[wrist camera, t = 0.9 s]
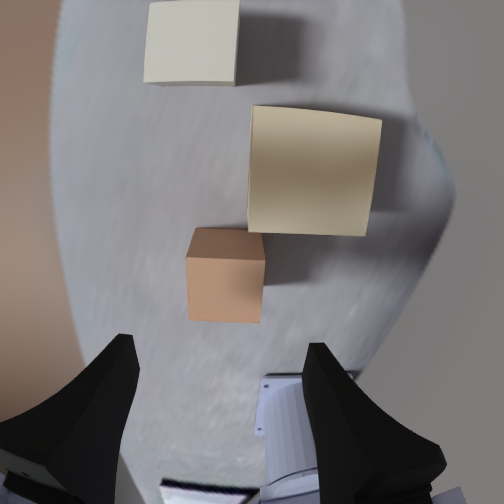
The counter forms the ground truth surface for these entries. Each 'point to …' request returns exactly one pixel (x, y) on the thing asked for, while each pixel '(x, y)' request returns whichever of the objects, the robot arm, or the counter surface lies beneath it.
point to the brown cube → (225, 275)
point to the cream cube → (192, 43)
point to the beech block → (311, 171)
